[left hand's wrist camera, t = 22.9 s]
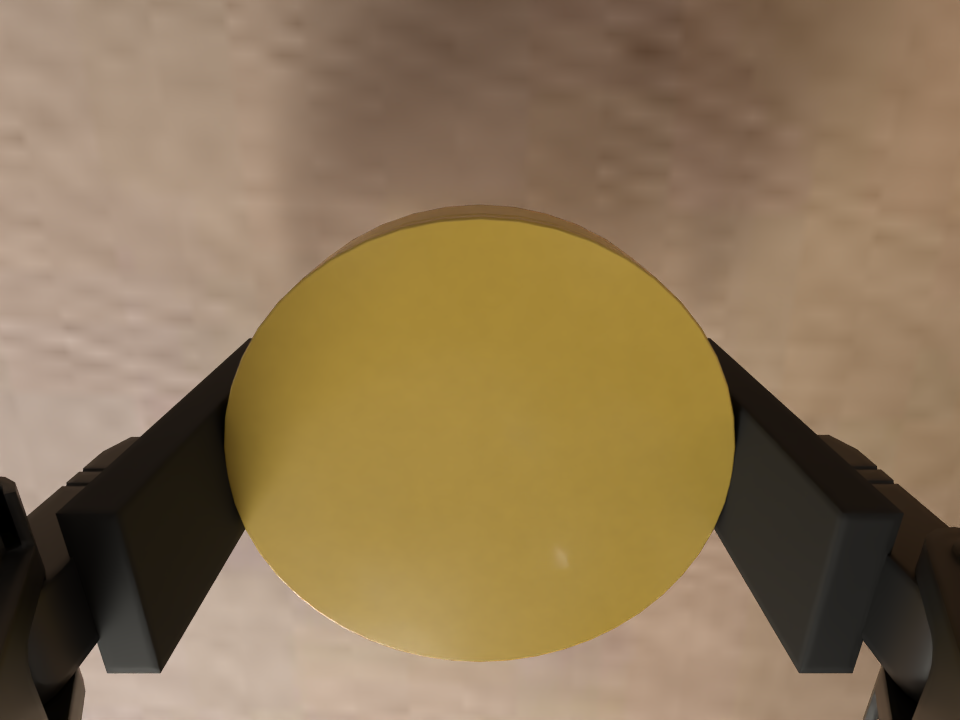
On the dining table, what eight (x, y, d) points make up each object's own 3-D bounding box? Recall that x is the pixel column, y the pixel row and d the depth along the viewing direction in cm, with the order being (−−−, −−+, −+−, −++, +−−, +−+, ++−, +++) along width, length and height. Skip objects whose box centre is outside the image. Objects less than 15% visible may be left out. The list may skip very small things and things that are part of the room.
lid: (667, 142, 10) (702, 144, 8) (725, 556, 13) (758, 613, 12) (179, 278, 11) (128, 303, 9) (346, 635, 14) (330, 697, 12)
